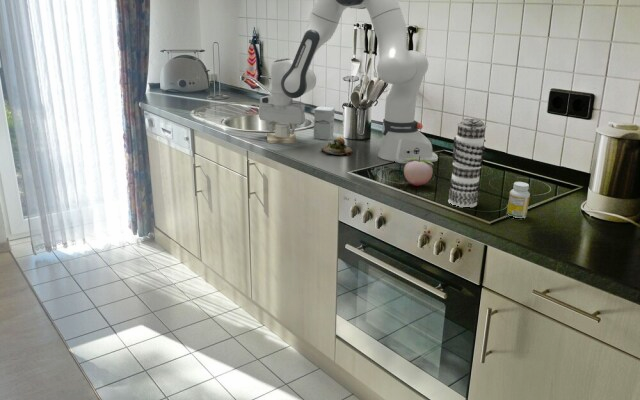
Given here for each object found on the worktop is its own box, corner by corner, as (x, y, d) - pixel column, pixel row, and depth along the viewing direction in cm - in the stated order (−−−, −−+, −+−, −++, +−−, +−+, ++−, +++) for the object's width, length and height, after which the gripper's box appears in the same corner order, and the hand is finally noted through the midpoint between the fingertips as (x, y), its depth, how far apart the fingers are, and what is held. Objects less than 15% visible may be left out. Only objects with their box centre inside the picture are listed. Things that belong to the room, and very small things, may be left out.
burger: (315, 151, 219) (316, 132, 216) (340, 147, 225) (340, 129, 223) (334, 159, 210) (334, 139, 207) (358, 154, 216) (359, 135, 214)
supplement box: (313, 138, 237) (313, 109, 233) (317, 134, 244) (318, 105, 239) (330, 140, 235) (331, 110, 231) (333, 136, 242) (335, 107, 238)
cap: (273, 134, 236) (273, 122, 234) (287, 133, 238) (287, 122, 236) (276, 137, 231) (276, 125, 229) (291, 137, 232) (291, 125, 231)
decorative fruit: (402, 189, 178) (404, 159, 174) (402, 181, 186) (404, 152, 182) (432, 191, 177) (435, 161, 173) (431, 183, 184) (434, 154, 181)
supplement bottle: (515, 220, 156) (520, 187, 152) (502, 213, 160) (507, 182, 157) (530, 218, 158) (535, 185, 154) (517, 211, 162) (522, 180, 159)
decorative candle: (446, 196, 173) (454, 116, 164) (476, 198, 172) (487, 117, 163) (447, 206, 165) (456, 122, 156) (479, 209, 163) (490, 124, 155)
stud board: (295, 136, 240) (295, 126, 239) (296, 143, 229) (296, 133, 228) (267, 136, 239) (267, 126, 238) (267, 143, 228) (267, 133, 227)
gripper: (308, 100, 227) (307, 134, 232) (264, 96, 235) (264, 128, 240) (301, 103, 222) (300, 137, 226) (256, 98, 230) (256, 131, 234)
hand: (281, 132), depth 233 cm, fingers open, 8 cm apart
